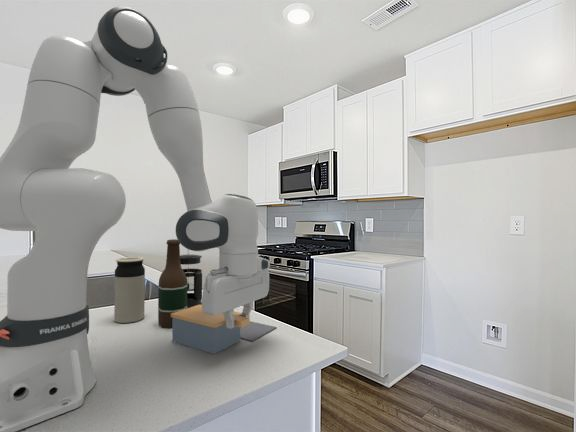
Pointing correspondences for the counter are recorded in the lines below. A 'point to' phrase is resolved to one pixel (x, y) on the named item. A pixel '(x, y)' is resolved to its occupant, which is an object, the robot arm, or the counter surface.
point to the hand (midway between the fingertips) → (238, 324)
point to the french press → (195, 297)
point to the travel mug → (129, 290)
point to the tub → (204, 335)
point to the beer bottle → (171, 286)
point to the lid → (208, 317)
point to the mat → (254, 331)
